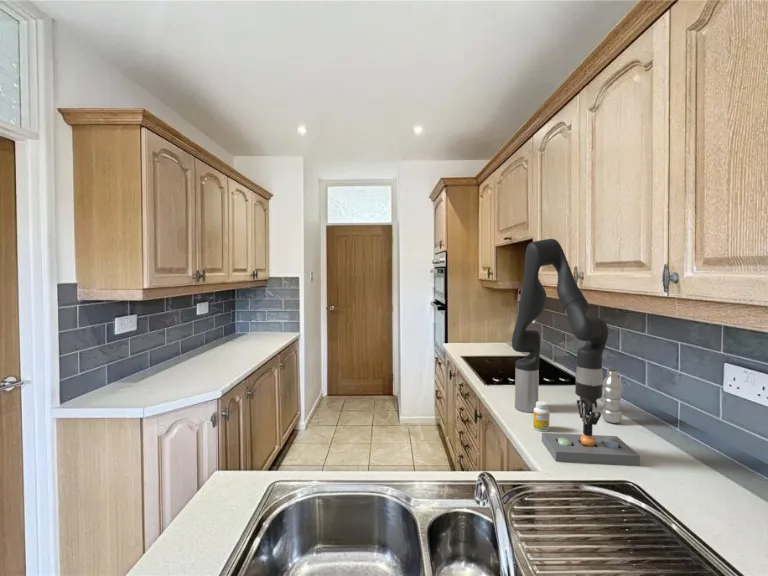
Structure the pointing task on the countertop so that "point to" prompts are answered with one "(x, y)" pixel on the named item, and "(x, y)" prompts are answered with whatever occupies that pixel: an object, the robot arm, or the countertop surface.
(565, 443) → the green button
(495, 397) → the countertop surface
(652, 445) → the countertop surface
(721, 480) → the countertop surface
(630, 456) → the button box
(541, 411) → the supplement bottle
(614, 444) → the blue button
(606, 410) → the plastic bottle
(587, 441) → the orange button
